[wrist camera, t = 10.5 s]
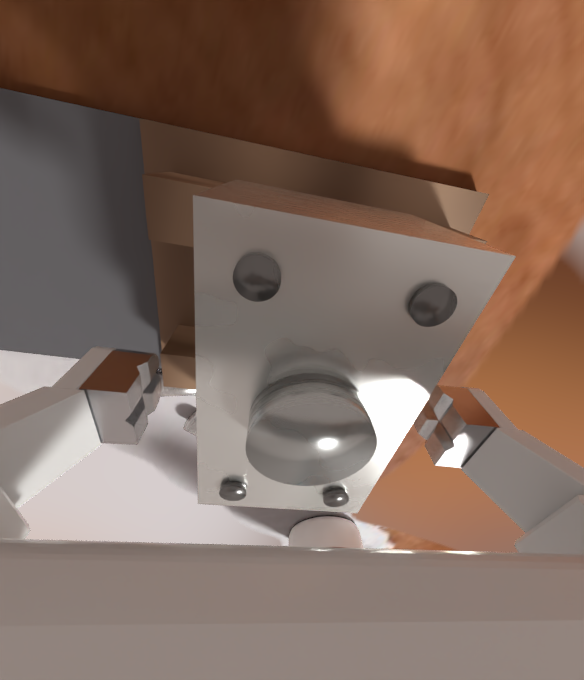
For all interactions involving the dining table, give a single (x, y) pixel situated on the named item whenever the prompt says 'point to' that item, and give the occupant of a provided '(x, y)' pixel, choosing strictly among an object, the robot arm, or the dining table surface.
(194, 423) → the pin
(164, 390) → the pin
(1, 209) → the bench mat
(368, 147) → the dining table surface
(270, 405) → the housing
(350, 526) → the milk bottle
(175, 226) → the stand
